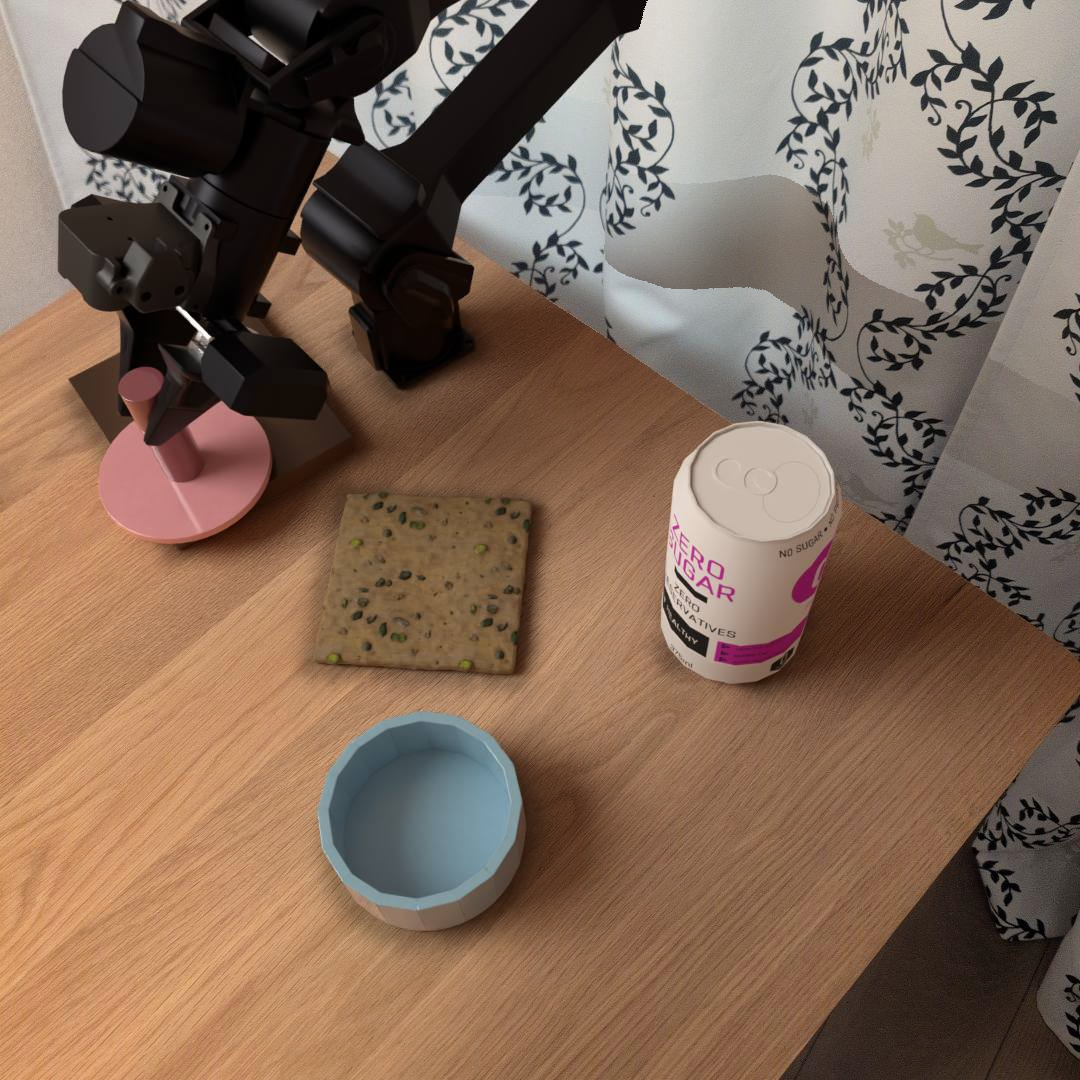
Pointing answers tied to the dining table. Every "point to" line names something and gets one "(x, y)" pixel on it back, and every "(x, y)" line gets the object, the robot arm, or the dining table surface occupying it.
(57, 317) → the dining table surface
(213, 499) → the lid
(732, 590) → the supplement can
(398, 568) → the cookie
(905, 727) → the dining table surface
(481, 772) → the bowl
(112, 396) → the board
